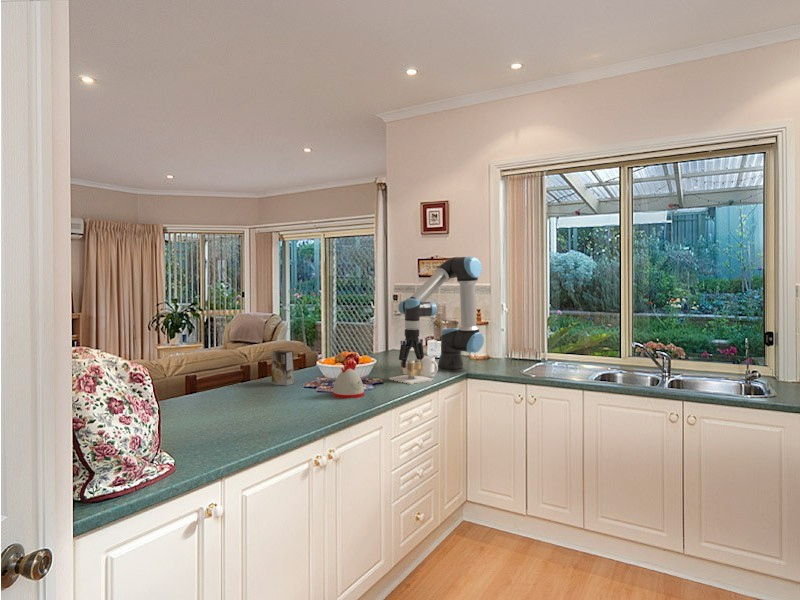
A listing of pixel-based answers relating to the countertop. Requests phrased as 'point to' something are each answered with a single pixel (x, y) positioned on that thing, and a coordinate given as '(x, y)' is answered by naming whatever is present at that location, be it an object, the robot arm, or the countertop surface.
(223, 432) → the countertop surface
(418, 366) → the collar
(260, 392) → the countertop surface
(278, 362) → the coffee box
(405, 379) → the post stand
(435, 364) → the mug
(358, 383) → the kitchen timer
